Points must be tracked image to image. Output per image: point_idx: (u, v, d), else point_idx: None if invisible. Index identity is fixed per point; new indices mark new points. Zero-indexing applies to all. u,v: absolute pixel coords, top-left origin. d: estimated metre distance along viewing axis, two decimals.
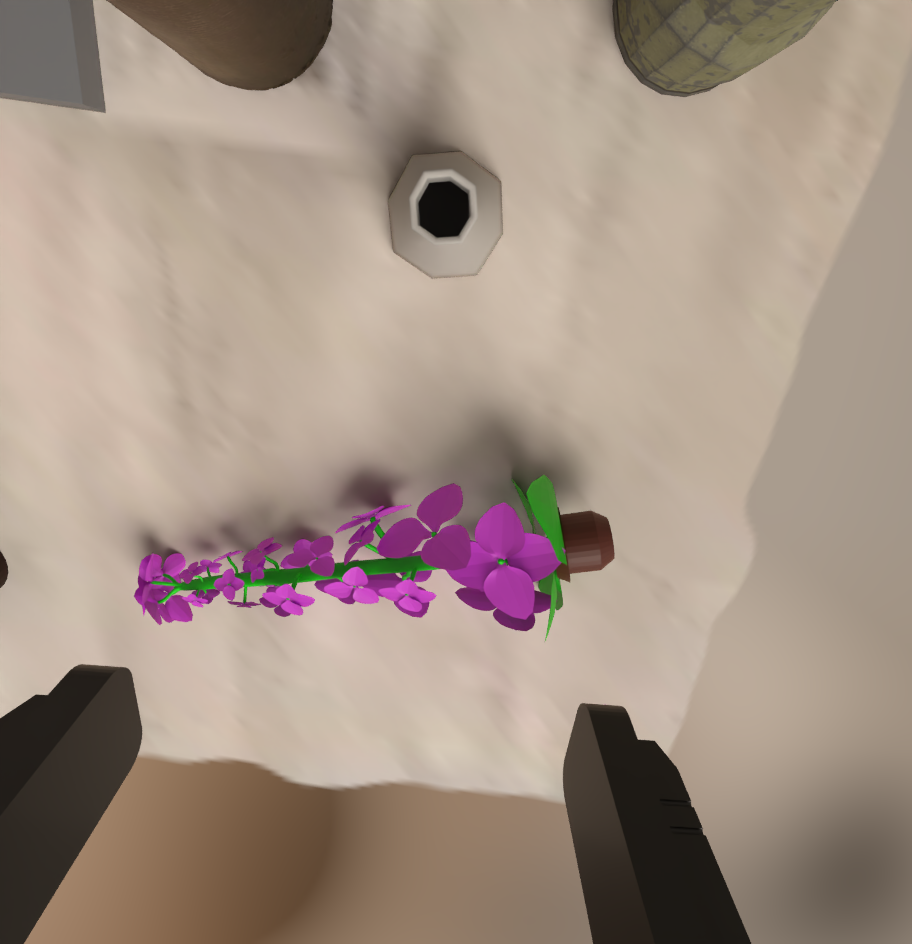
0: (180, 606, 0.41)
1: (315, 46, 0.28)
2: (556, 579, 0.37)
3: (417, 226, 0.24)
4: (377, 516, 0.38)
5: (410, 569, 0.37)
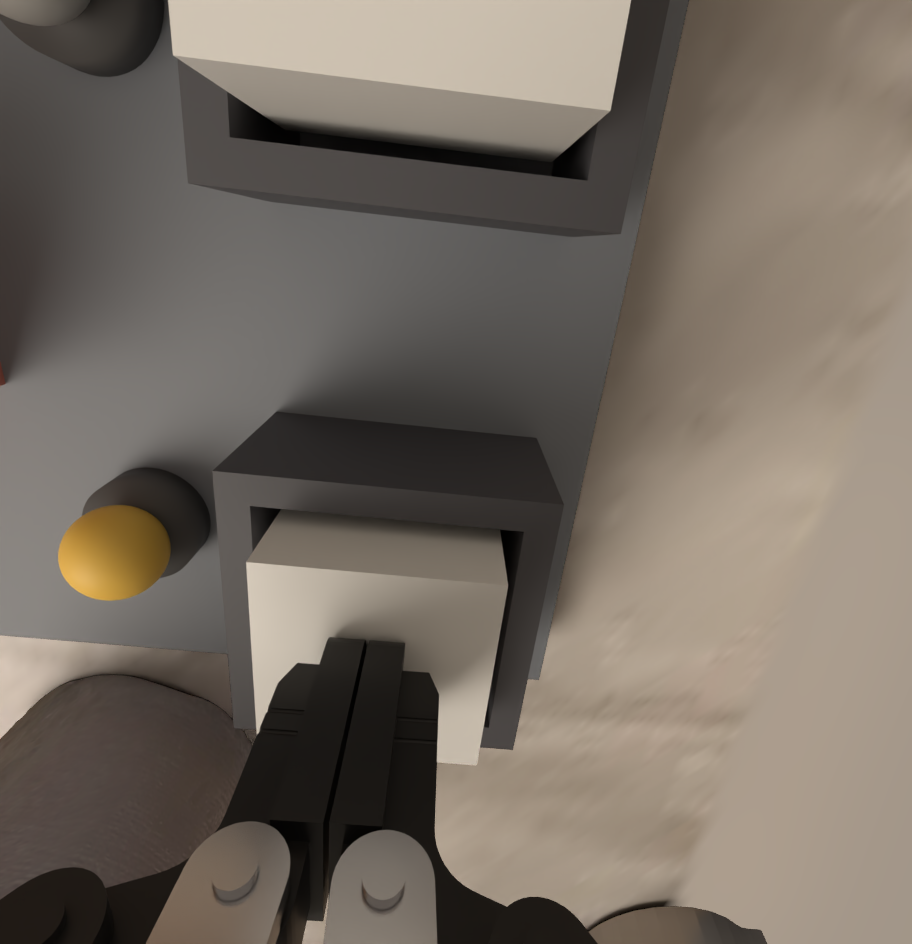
0: None
1: None
2: None
3: None
4: None
5: None
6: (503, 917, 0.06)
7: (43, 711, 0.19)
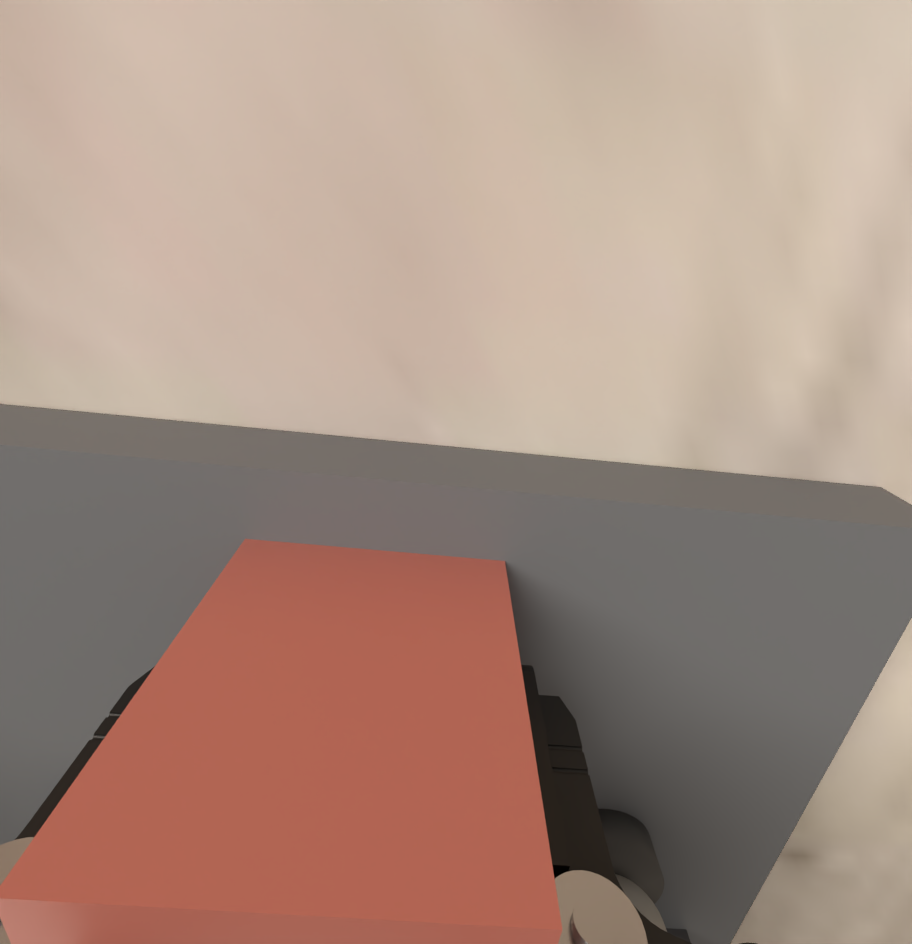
0: None
1: None
2: None
3: None
4: None
5: None
6: None
7: None
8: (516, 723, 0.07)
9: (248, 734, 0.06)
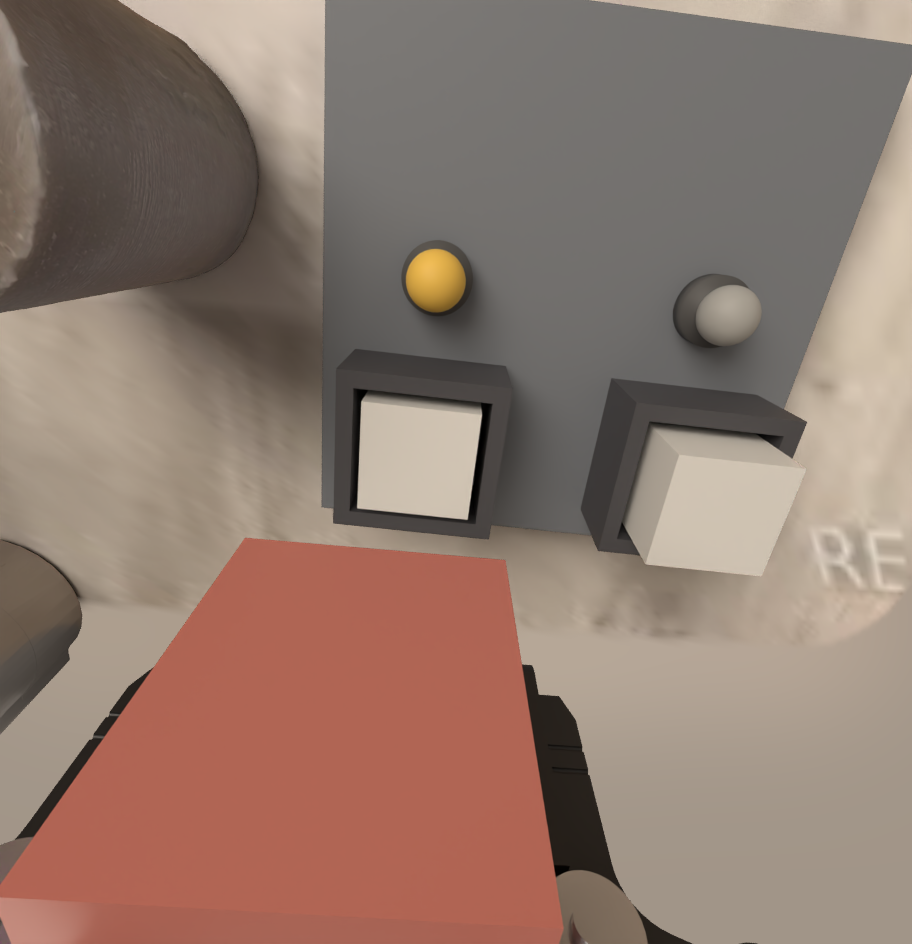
0: None
1: None
2: None
3: None
4: None
5: None
6: None
7: (230, 108, 0.21)
8: (517, 722, 0.07)
9: (249, 732, 0.06)
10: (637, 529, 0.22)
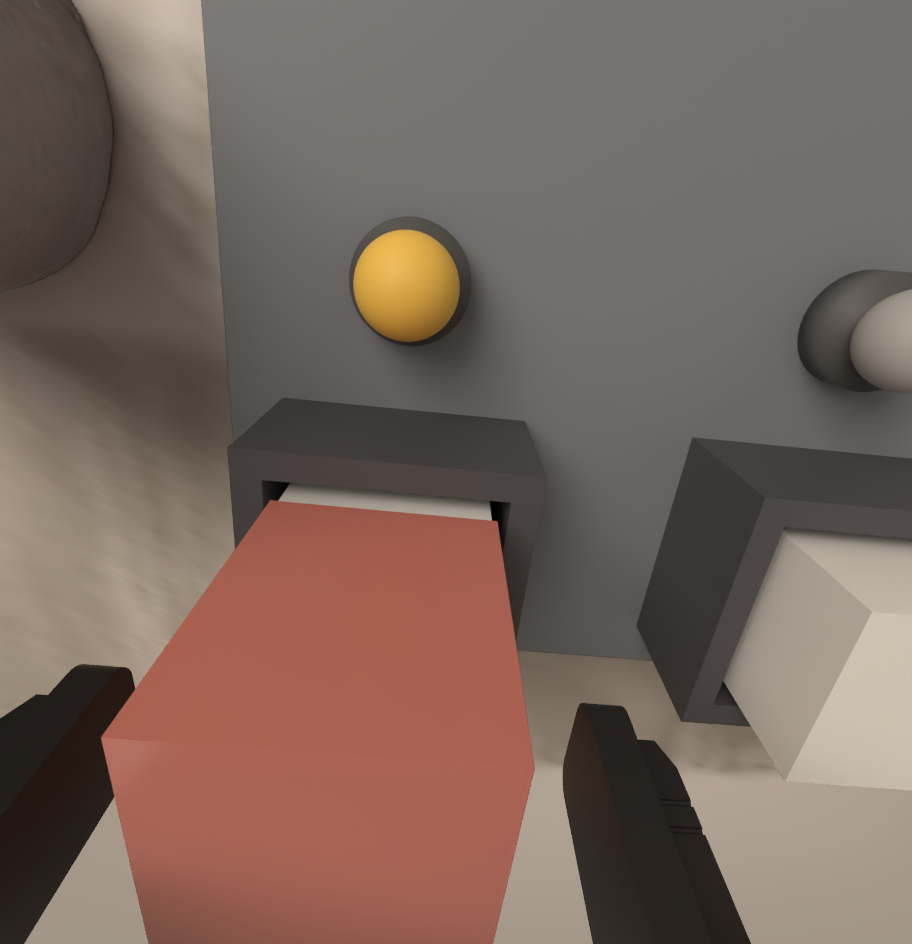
0: None
1: None
2: None
3: None
4: None
5: None
6: None
7: None
8: (503, 638, 0.08)
9: (285, 640, 0.08)
10: (756, 702, 0.13)
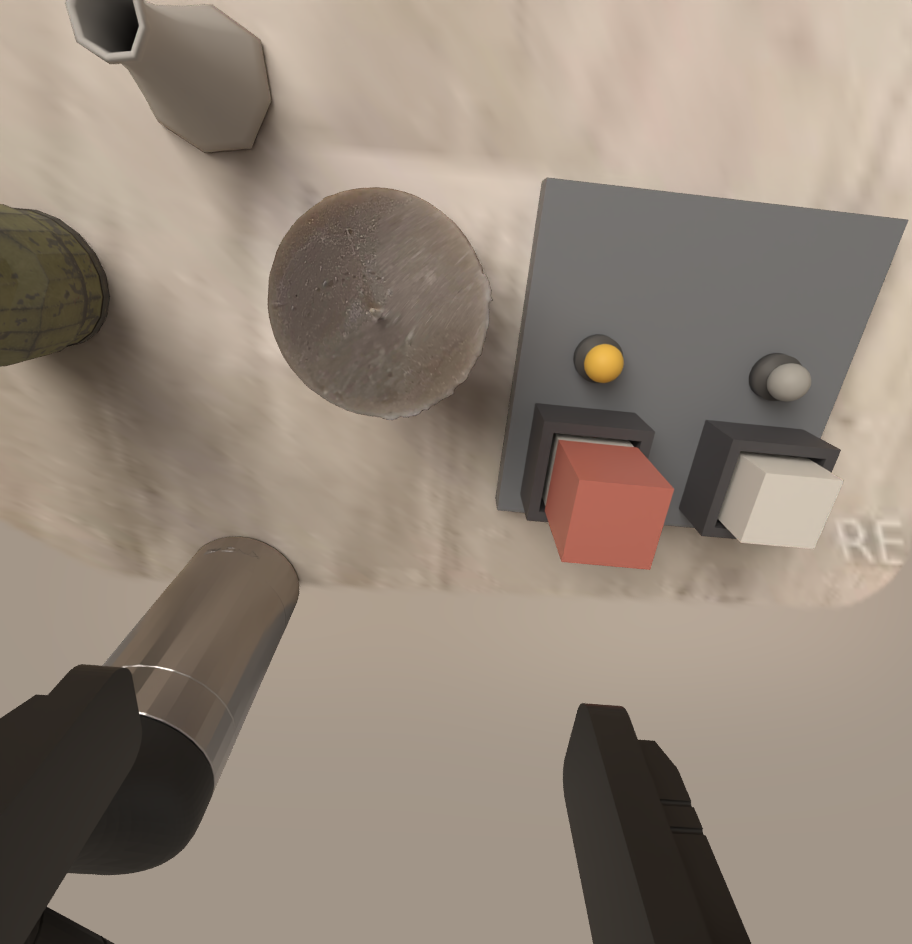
0: None
1: None
2: None
3: None
4: None
5: None
6: None
7: None
8: (655, 471, 0.29)
9: (600, 469, 0.29)
10: (731, 520, 0.34)
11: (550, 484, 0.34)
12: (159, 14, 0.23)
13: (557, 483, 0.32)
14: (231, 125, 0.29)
